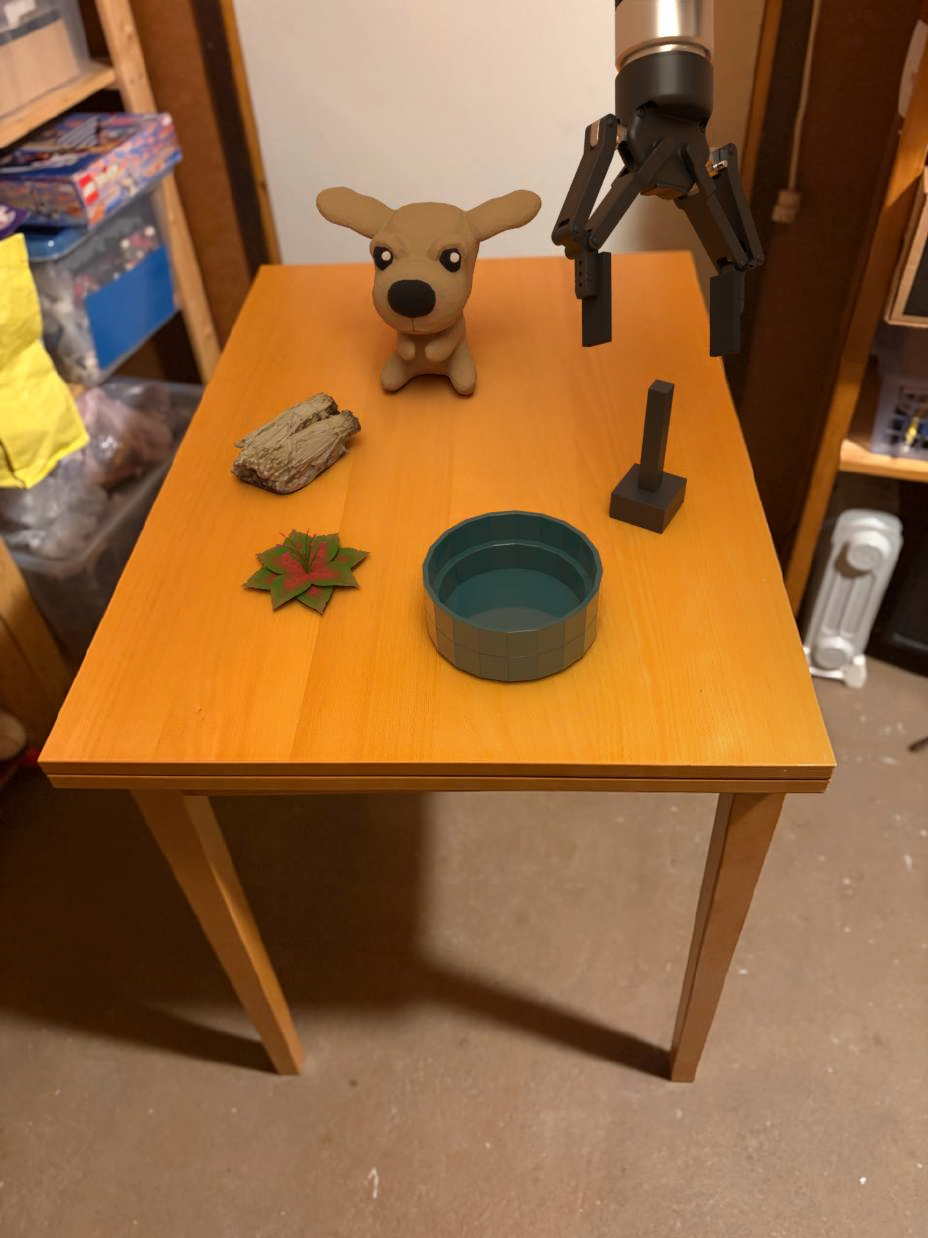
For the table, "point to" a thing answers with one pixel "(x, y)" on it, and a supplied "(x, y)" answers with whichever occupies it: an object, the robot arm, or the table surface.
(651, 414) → the post on square base
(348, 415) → the weathered wood chunk
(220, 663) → the table surface
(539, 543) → the bowl
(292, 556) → the lily flower
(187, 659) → the table surface
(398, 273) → the toy
